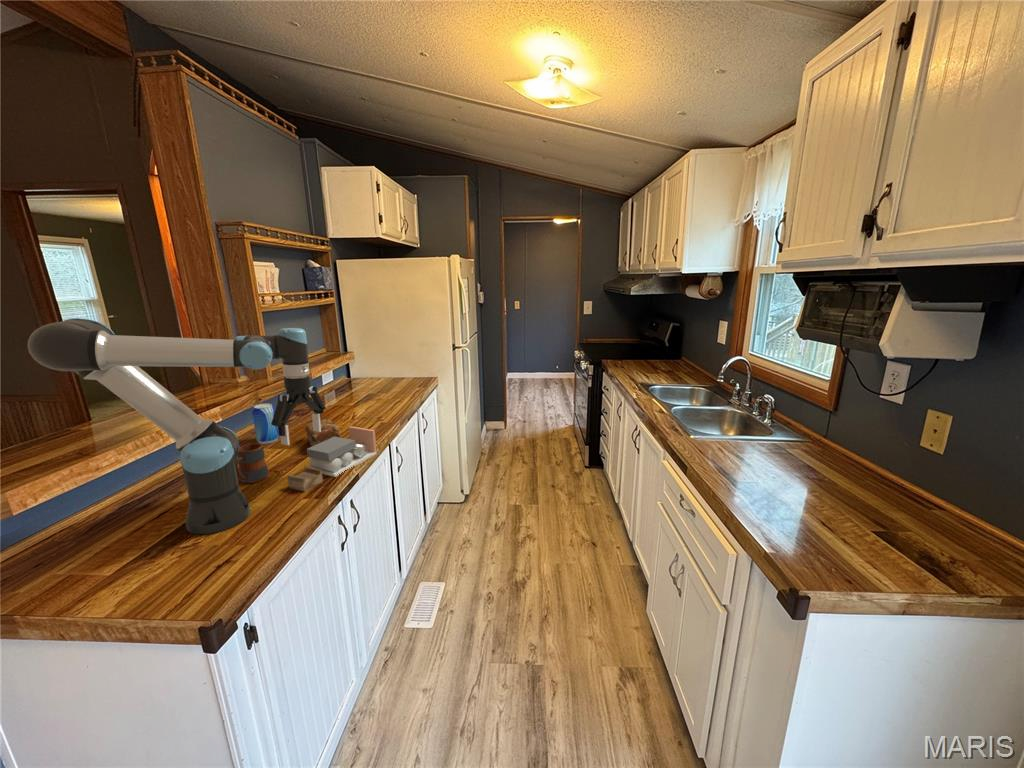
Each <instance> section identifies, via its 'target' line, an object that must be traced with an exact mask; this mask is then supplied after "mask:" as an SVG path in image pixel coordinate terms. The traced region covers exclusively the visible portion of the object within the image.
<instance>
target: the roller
mask: <svg viewBox="0 0 1024 768" xmlns="http://www.w3.org/2000/svg"><path fill="white" fill-rule="evenodd" d="M355 445H356V448H354V449H352V450H350V451H348V452H350V453H353V456H355V457H360V458H363V457H365V456H366V454H367V451H368V449H367V446H366V445H363V444H357V443H355Z"/></svg>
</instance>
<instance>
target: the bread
mask: <svg viewBox="0 0 1024 768" xmlns="http://www.w3.org/2000/svg"><path fill="white" fill-rule="evenodd" d="M320 423H321V432H316V431H313V420H311V421H310V422H309V423H307V424H306V425H305V432H306V433H305V435H306V438H307V441H308V442H309V445H310V446H311V447H312V446H314V445H317V444H319V443H321V442H323V441H326V440H328V439H330V438H332V437H340V438H341V433H340V429H339V427H337V425H336V424H335V423H333V421H332V420H331V419H328V418H325V419H324V418H321V421H320Z"/></svg>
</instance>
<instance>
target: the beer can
mask: <svg viewBox="0 0 1024 768" xmlns="http://www.w3.org/2000/svg"><path fill="white" fill-rule="evenodd" d="M275 410H276V407H274V406H273V404H272V403H259V404H257V405H254V406H253V410H252V412H251V413H252V415H251V416H252V420H253V427H254V434H255V440H256V441H257V443H259V444H262V445H267V444H268V445H269V444H273V443H275V442H277V441H278V439H279V438H280V436H279V431H278V426H274V425H272V424H271V423H272V420H273V416H274V413H275ZM276 422H277V421H276Z"/></svg>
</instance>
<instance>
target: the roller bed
mask: <svg viewBox="0 0 1024 768" xmlns="http://www.w3.org/2000/svg"><path fill="white" fill-rule="evenodd" d="M348 432H349V439H351V440H355V443H357V444H363V445H366V446H367V449H368V451H367V454H366V456H365V457H363V458H360V457H355V456H353V453H350V452H346V453H344V454H342V455H341V456H339V457H337V458H335V459H333V460H331V461H325V460H321V459H316V458H311V457H310V460H309V465H310V466H309V467H312V468H317V469H321V470H322V475H325V476H329V477H334V478H337V477H338V476H340V475H342V474H343V473H345V472H346V471H345V470H347V469H349V468H350V469H352V468H354V467H355V466H357V465H359V464H361V463H363V462H364V461H367V460H368V459H370V458H372V457H373V456H375V455H377V451H378V450H377V441H376V440H377V439H376V430H374V429H369V428H363V427H357V426H349V427H348ZM353 466H354V467H353ZM351 467H352V468H351ZM350 469H349V470H350ZM344 471H345V472H344ZM347 471H348V470H347ZM342 472H343V473H342ZM341 473H342V474H341ZM339 474H340V475H339Z"/></svg>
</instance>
